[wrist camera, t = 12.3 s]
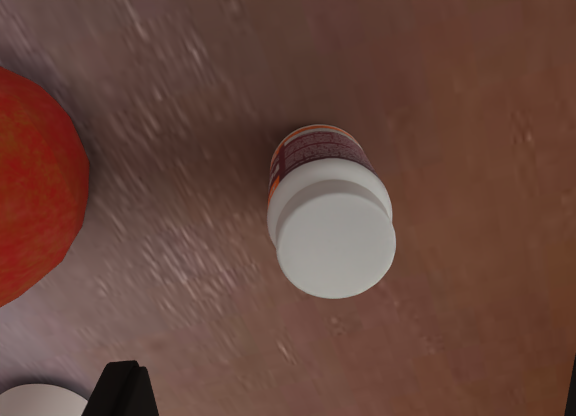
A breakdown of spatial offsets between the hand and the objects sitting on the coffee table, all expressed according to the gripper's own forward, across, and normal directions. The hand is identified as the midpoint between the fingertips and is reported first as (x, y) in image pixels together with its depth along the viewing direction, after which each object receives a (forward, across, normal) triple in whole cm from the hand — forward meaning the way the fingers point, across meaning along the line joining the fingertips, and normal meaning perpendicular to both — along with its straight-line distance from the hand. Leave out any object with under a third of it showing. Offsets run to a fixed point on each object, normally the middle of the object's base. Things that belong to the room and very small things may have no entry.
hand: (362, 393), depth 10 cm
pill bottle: (+14, 0, 0) cm, 14 cm away
